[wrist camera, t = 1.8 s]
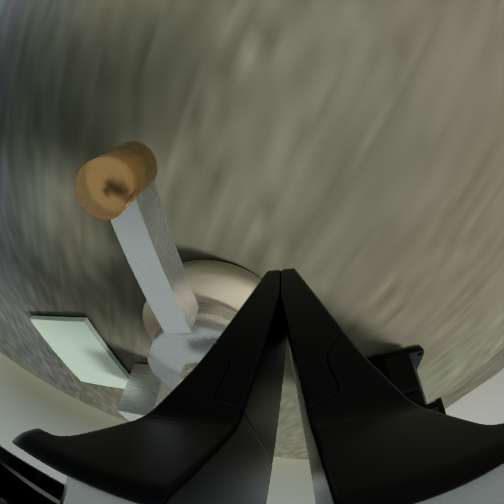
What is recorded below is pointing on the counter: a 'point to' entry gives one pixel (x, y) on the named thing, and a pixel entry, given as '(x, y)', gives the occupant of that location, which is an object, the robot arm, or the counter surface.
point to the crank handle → (151, 257)
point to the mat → (82, 350)
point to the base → (211, 287)
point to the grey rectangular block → (142, 392)
